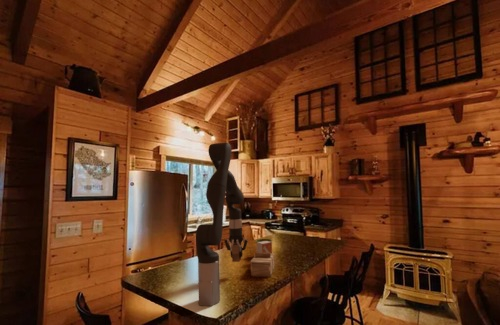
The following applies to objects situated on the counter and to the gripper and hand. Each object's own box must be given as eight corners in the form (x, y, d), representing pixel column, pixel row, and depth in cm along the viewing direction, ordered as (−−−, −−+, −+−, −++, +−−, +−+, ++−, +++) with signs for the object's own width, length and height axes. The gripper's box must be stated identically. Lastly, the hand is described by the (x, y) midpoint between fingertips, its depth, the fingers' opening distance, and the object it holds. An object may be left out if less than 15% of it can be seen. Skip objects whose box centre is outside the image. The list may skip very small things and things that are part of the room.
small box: (262, 264, 166) (261, 243, 167) (257, 262, 171) (256, 242, 173) (272, 262, 171) (271, 241, 172) (266, 260, 176) (266, 240, 177)
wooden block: (239, 261, 145) (238, 243, 146) (232, 261, 146) (231, 243, 147) (241, 259, 149) (240, 241, 150) (234, 259, 150) (233, 241, 151)
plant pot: (253, 255, 189) (252, 239, 190) (267, 253, 194) (266, 238, 195) (260, 259, 178) (260, 242, 179) (275, 256, 183) (274, 240, 184)
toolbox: (270, 277, 142) (270, 264, 143) (251, 276, 144) (250, 263, 145) (274, 267, 159) (274, 255, 160) (257, 266, 162) (256, 255, 163)
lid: (269, 263, 143) (269, 257, 143) (250, 263, 145) (250, 256, 146) (274, 255, 160) (274, 249, 161) (256, 254, 163) (256, 249, 163)
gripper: (221, 228, 147) (222, 259, 145) (246, 227, 144) (247, 259, 142) (225, 226, 154) (226, 255, 153) (249, 225, 151) (250, 256, 149)
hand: (236, 257), depth 147 cm, fingers closed on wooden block, 4 cm apart
